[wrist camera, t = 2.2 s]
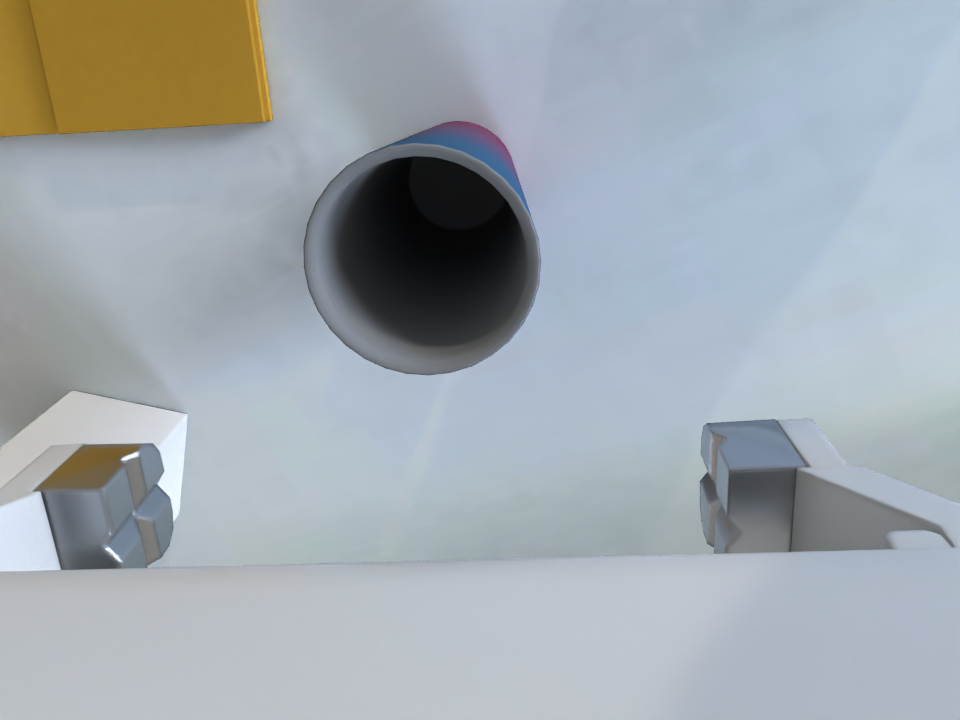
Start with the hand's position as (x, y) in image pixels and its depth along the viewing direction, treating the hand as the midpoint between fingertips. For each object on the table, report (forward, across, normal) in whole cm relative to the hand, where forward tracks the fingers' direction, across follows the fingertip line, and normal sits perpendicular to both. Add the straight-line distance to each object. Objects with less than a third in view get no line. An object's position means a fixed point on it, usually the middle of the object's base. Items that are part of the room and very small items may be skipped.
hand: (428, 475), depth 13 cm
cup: (+28, +2, 0) cm, 28 cm away
